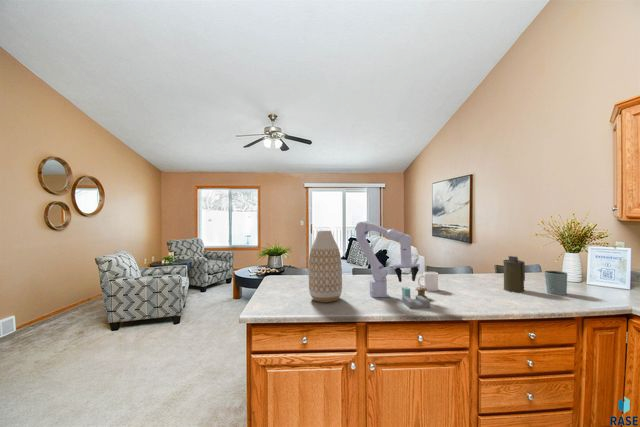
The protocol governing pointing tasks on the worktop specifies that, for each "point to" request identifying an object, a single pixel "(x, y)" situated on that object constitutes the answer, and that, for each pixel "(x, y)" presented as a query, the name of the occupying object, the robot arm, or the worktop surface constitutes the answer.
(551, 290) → the grey pot
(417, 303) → the board
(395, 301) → the worktop surface
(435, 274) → the cup
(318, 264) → the vase
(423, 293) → the bobbin
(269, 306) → the worktop surface
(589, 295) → the worktop surface
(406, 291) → the tab
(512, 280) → the canister
